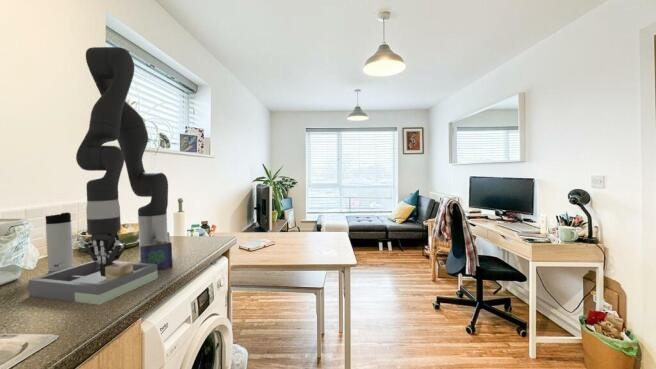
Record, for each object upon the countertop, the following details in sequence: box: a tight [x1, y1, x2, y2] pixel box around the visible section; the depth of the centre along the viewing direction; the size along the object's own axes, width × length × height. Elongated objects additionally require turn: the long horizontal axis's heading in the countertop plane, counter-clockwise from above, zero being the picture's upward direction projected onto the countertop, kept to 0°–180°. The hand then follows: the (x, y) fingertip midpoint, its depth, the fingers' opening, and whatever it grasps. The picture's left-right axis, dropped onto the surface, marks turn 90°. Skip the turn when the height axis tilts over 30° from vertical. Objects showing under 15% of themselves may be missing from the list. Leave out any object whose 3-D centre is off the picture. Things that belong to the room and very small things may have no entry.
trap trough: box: [27, 260, 159, 306], centre depth 82 cm, size 18×24×4 cm
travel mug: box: [45, 212, 75, 274], centre depth 96 cm, size 6×7×20 cm
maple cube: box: [105, 261, 133, 282], centre depth 80 cm, size 4×4×4 cm
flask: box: [139, 238, 173, 271], centre depth 97 cm, size 9×3×11 cm, turn 121°
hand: (106, 275), depth 82 cm, fingers closed
